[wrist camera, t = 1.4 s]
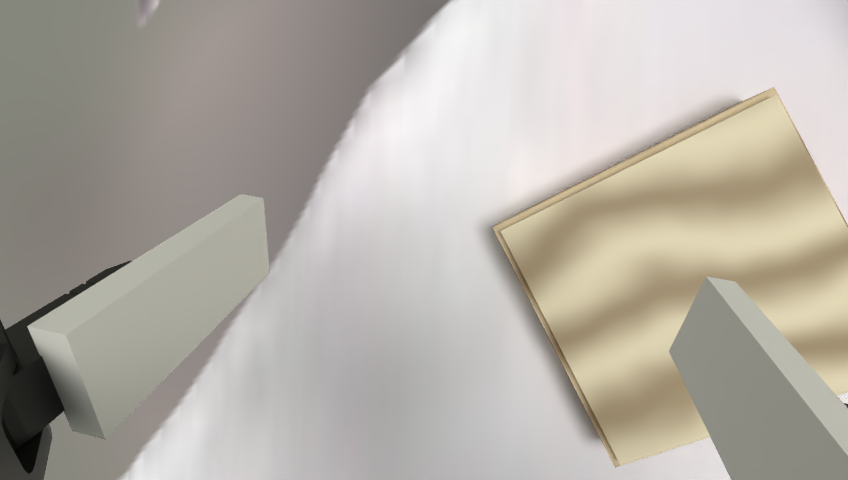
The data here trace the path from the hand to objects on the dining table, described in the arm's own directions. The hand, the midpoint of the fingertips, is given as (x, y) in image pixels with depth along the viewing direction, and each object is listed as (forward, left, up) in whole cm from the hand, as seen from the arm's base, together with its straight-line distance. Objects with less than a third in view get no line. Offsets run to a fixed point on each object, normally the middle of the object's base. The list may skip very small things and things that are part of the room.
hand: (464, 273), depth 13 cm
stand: (-11, -11, -27) cm, 31 cm away
